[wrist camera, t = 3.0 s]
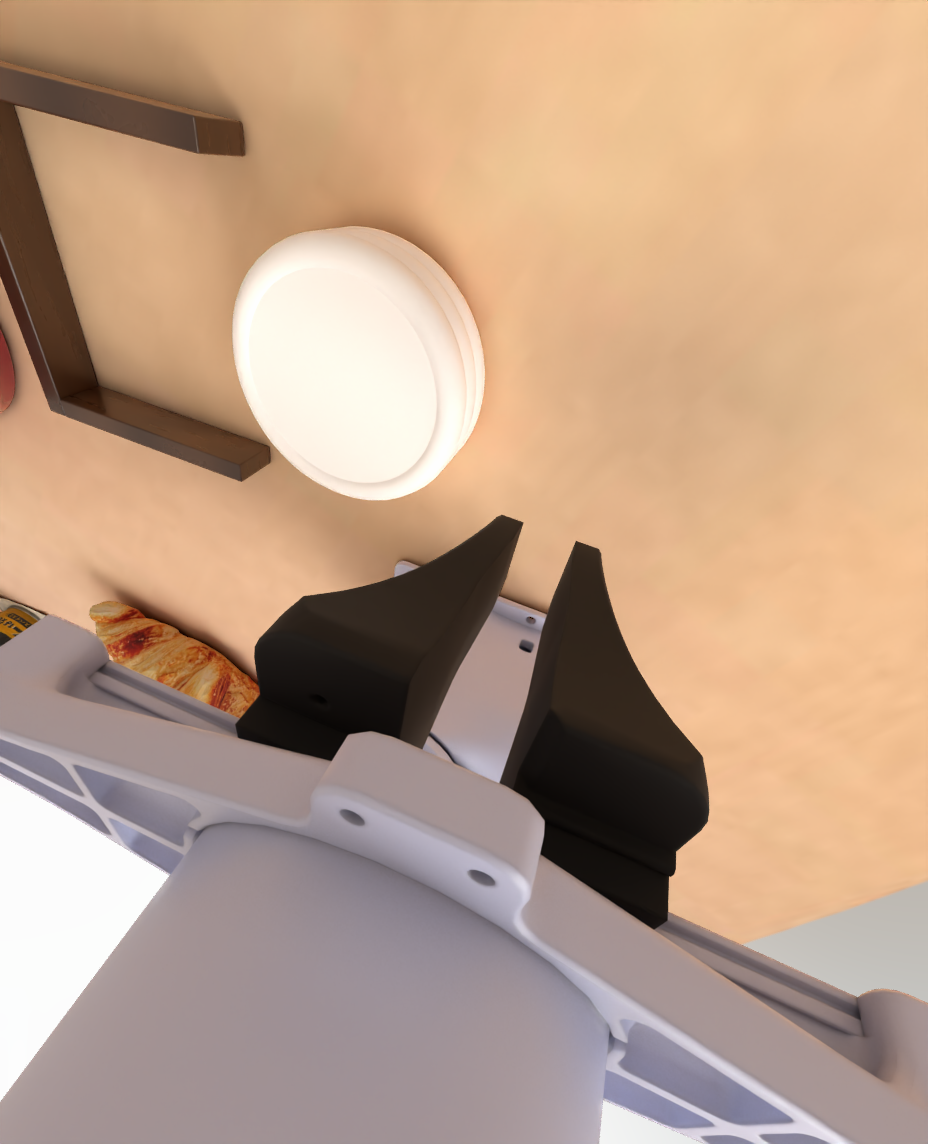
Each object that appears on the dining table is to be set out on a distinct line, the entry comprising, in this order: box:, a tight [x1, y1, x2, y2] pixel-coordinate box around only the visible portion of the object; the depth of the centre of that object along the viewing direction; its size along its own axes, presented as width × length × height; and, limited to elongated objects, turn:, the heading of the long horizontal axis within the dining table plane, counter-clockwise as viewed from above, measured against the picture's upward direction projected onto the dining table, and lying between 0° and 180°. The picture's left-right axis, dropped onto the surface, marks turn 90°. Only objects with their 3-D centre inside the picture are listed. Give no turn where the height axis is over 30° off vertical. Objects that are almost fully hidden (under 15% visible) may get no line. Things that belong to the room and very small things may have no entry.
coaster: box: [232, 226, 485, 500], centre depth 21 cm, size 10×10×4 cm
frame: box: [0, 61, 270, 482], centre depth 23 cm, size 12×14×2 cm
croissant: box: [89, 601, 260, 718], centre depth 41 cm, size 21×10×8 cm, turn 50°
